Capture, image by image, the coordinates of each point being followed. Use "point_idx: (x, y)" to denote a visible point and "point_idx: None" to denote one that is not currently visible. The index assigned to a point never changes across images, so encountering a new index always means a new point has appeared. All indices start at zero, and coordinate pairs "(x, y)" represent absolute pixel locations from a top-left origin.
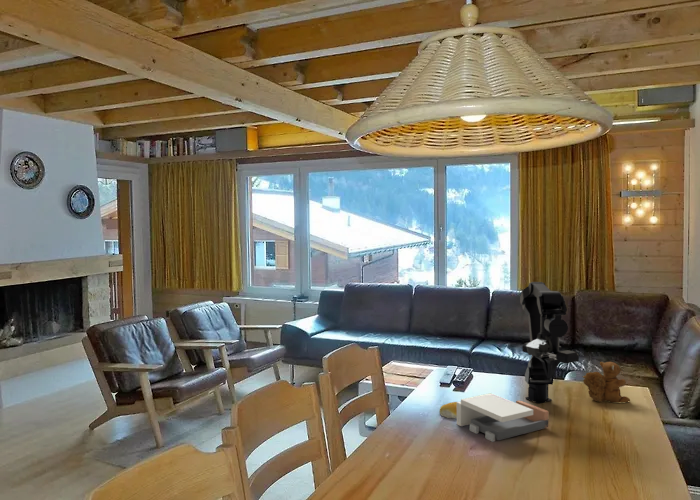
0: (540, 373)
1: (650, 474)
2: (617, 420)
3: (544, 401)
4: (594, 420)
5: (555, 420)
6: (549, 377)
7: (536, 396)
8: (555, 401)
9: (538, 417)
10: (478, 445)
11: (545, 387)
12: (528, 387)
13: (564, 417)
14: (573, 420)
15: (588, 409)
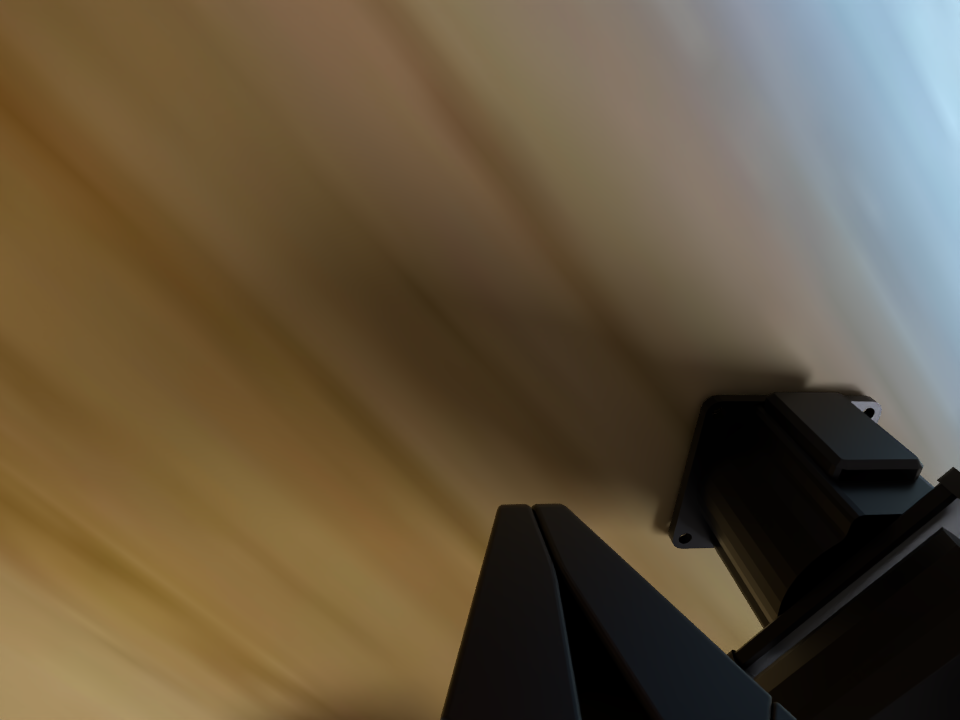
0: (907, 673)
1: None
2: (31, 618)
3: (691, 465)
4: (105, 478)
5: (275, 155)
6: (495, 526)
7: (773, 439)
8: (643, 553)
9: None
10: None
11: (761, 583)
12: (922, 466)
13: (302, 314)
14: (188, 321)
15: (353, 619)
